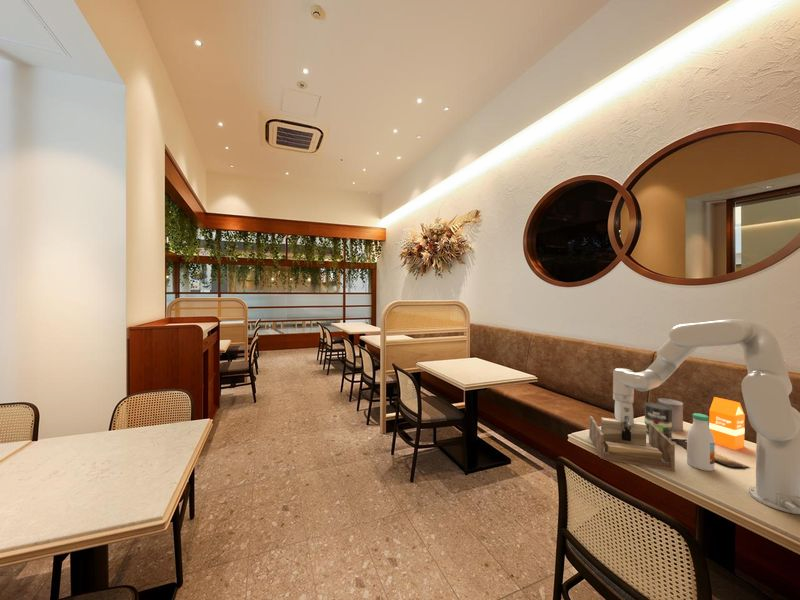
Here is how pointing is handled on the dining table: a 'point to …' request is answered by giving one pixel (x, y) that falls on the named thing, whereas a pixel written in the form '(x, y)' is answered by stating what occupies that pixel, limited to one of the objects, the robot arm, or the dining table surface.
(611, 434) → the birch panel
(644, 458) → the offcut lower
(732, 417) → the orange juice
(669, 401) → the pillar candle
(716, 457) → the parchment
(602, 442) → the rack
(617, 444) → the offcut upper
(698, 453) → the milk bottle
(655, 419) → the coffee can
